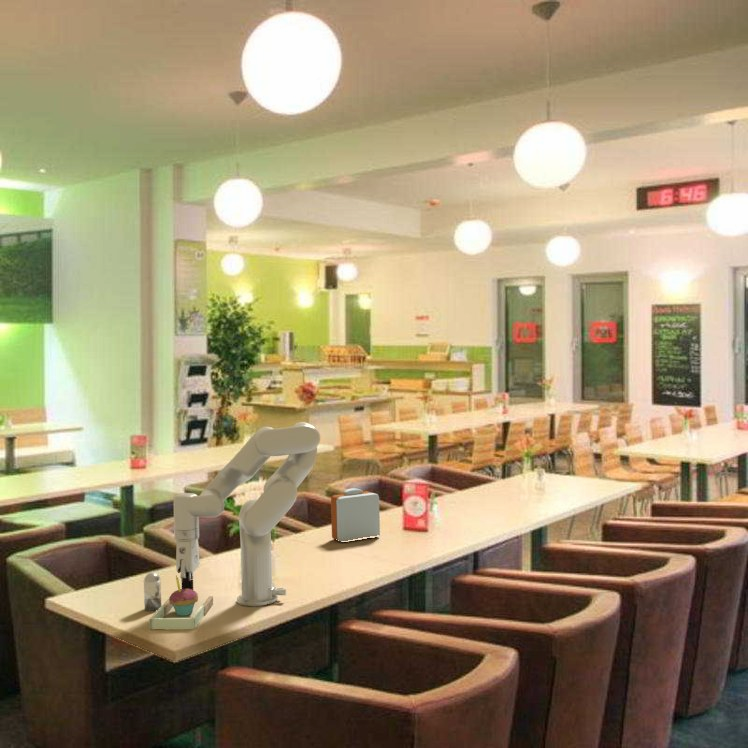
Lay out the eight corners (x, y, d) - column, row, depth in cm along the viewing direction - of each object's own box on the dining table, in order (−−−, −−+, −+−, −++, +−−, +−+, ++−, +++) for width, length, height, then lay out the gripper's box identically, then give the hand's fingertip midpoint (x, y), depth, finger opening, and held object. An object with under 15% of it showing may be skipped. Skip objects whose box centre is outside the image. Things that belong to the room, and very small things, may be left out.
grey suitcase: (370, 534, 350) (369, 485, 350) (380, 537, 343) (379, 488, 342) (331, 539, 341) (330, 490, 340) (341, 544, 333) (339, 493, 333)
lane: (213, 604, 258) (213, 596, 258) (205, 615, 247) (205, 607, 247) (170, 604, 258) (170, 596, 258) (160, 616, 248) (160, 607, 248)
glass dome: (163, 606, 257) (162, 570, 257) (158, 611, 252) (157, 575, 252) (147, 606, 257) (146, 570, 257) (142, 611, 252) (141, 575, 252)
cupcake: (177, 620, 244) (175, 580, 243) (164, 612, 250) (163, 573, 250) (203, 612, 249) (202, 573, 248) (190, 605, 256) (189, 567, 255)
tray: (204, 615, 247) (203, 605, 247) (194, 629, 235) (194, 618, 235) (161, 615, 248) (161, 606, 248) (149, 629, 236) (149, 619, 236)
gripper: (192, 539, 247) (193, 600, 248) (204, 528, 262) (205, 586, 263) (167, 539, 247) (168, 600, 248) (181, 528, 262) (182, 586, 263)
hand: (187, 593), depth 255 cm, fingers closed
